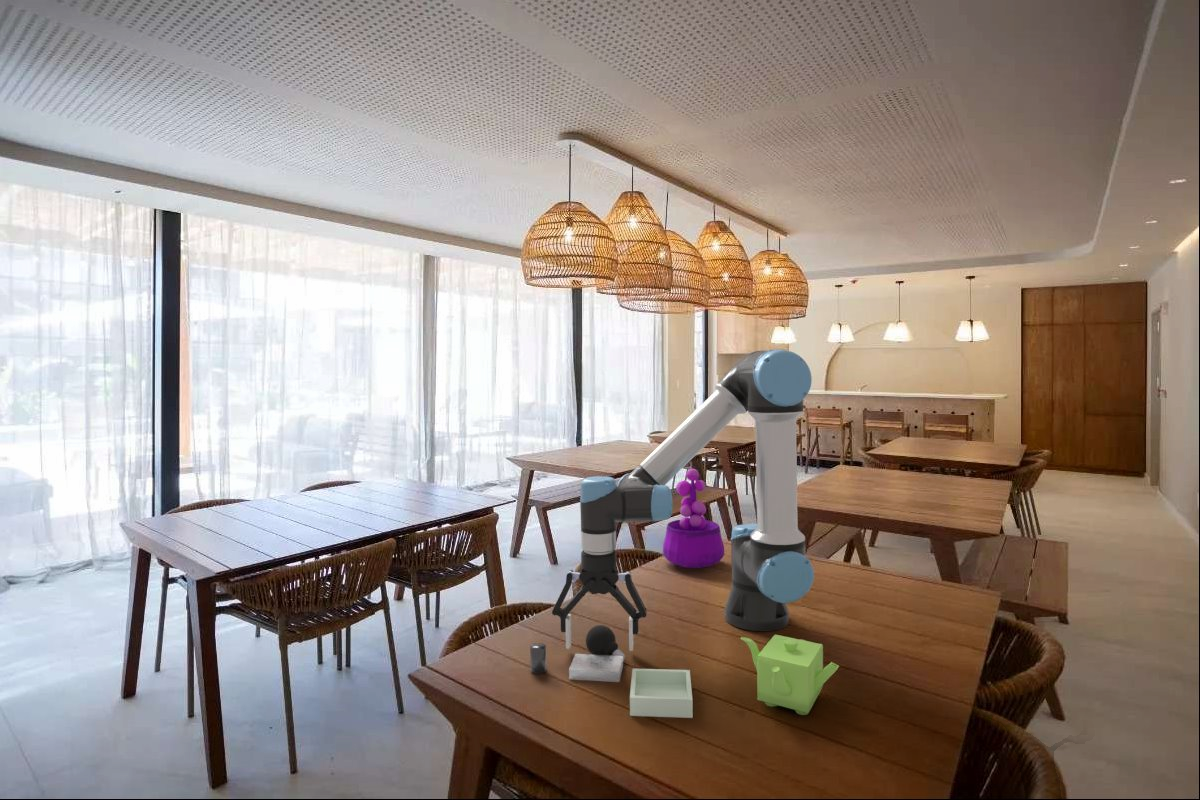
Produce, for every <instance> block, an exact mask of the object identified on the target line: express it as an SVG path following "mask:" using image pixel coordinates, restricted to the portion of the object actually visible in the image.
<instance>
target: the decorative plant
mask: <svg viewBox="0 0 1200 800" xmlns="http://www.w3.org/2000/svg"><path fill="white" fill-rule="evenodd" d="M685 476H686V478H687V479H688V480H689V481H691V483H690V482H689V481H688V480H686V479H685V480H681V481H679V482H678V483H676V485H675V487H676V488H675V491H676V492H677V494H678V495H680V497H683V498H682V499H681V507H680V510H679V512H680V513H679V514H680V515H682V516H683V517H681V518H680V519H677V520H676V519H675V520H672V521H669V522H668V524H667V525H666V532H665V537H664V540H663V545H662V554H663V556H664V557H665V559H666V560H667V561H668V562H670V564H673V565H677V566H680V567H683V568H688V569H703V568H706V567H711V566H714V565H716V564H717V563H719V562H720V561H721V560H722V559H723V558H724V556H725V546H724V542H723V538H722V534H721V533H722V532H721V527H720V525H719V523H717V522H715V521H711V520H708V519H706V518H705V517H704V516H703V515H705V514H706V513H707V512H706V511H707V507H706V505H705V504H704V502H702V501H700V500H697V492H703V491H704V490H705V489H706V487H707V485H706V482H705V481H704V480H701V479H699V478H700V474H699V470H697V469H695V468H689V469H688V470H687V471H686V474H685ZM688 495H689V496H688Z"/></svg>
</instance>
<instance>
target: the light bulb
mask: <svg viewBox="0 0 1200 800" xmlns="http://www.w3.org/2000/svg"><path fill="white" fill-rule="evenodd" d="M585 645H586V648H587V650H588V652H589V654H592V655H613V656H623V662H624V661H625V658H626V655H625V654H624V653H623V651H621V650H620V649H619V644H618V643H617V641H616V635H615V633H614V631H613V630H612V629H611V628H610V627H608V626H607V625H603V624H602V625H601V624H599V625H595V626H593V627H591V628H590V629H589V630H588V632H587V634H586V637H585Z"/></svg>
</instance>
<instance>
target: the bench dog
mask: <svg viewBox="0 0 1200 800" xmlns="http://www.w3.org/2000/svg"><path fill="white" fill-rule="evenodd" d="M529 656H530V657H529V659H530V661H529V663H530V672H531V673H532V674H534V675H540V674H545V672H546V671H547V646H546V644H545V643H543V642H535V643H532V644H530V646H529Z"/></svg>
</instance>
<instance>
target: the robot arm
mask: <svg viewBox="0 0 1200 800" xmlns="http://www.w3.org/2000/svg"><path fill="white" fill-rule="evenodd" d="M812 378H813V376H812V373H811V369H810V366H809V365H808V364H807V362H806V360H804V358H802V356H800V355H799V354H797V353H795V352H794V351H791V350H786V349H779V348H776V349H768V350H756V351H752V352H750V353H748V354H746V355H745V356H744V357H742V358H741V359H740V360H738V361H737V362H736V363H735V364H734V365H733V366H732V368H731V369H730V370H729V371H728V372H727V373H726V374H725V375H724V376H723V377H722V378H721V379H720V380H719V381H718V382H717V383H716V384H715V388H714V391H713V393H711V395H710V396H708V398H706V399H705V401H703V403H701V404H700V405H699V407H697V408H696V409H695V410H694V412H692V413H691V414H690V415H689V416H688V417H687V418H686V419H685V420H684V421H683V422H682V423H680V425H679V426H678V427H677V428H675V430H674V431H673V432H671V433H670V435H669V436H667V438H666V439H664V440H663V442H661V443H660V444H659V445H658V447H656V448H655V449H654V450H653V451H652V452H651V453H650V454H649V455H648V456H647V457H646V458H645V459H644V460H643V461H642V462H641V463H639V465H637V467H636V468H634V470H632V472H628V473H626V474H624V475H622V477H620V479H619V480H618V482H617V483H616V480H615V478H614V477H611V476H606V475H605V476H603V475H602V476H601V475H597V476H596V475H595V476H589V477H586V478H583V480H581V482H580V499H579V500H580V501H579V503H580V504H579V505H580V507H579V508H580V548H581V553H580V564H581V565H580V567H581V569H580V572H576V571H574V570H573V569H569V570H568V571H567V573H566V578H565V584H564V585H563V588H562V590H561V592H560V594H559V595H558V598H557V600H556V602H555V604H554V606H553V608H552V611H551V614H552V615H553V616H558V617H559V618H560V631H561V633H565V649H566V650H570V648H571V645H572V615H571V612H572V611H573V609H574V608H575V607H576V606H577V604H578V603H579V602H580V601H581V600H582V599H583V597H585V595H586V594H587V593H588V592H589V593H590V594H591V595H597V594H600V595H607V594H610V595H611V596H612V598H614V599H615V600H616V601H617V602H618V604H619V605H620V606H621V607H622V608H623V609H624V611H625V612H626V613H627V614H628V615H629V618H628V647H629V648H628V649H629V650H628V651H629V652H633V651H634V635H638V633H639V621H640V620H639V619H641V618H643V619H644V618H646V617H647V611H648V610H647V607H646V606H645V604H644V602H643V600H642V598H641V596H640V594H639V592H638V590H637V588H636V585H635V584H634V582H633V579H632V578H633V577H632V572H631V571H630V570H627V571H625V572H620V573H619V571H618V569H617V551H616V549H617V523H624V522H625V523H626V522H627V523H628V522H658V521H666V520H669V519H670V518H671V516H672V513H673V505H674V504H673V503H674V502H673V494H672V490H671V488H670V486H668V485H666V484H668V483H669V482H670V480H672V479H673V478H674V477H675V476H676V475H677V474H678V473H679V472H680V471H681V470H682V469H683V468H684V467H685V466H686V465H687V464H688V463H689V462H691V460H692V459H694V458H695V456H697V454H699V453H700V452H701V451H702V450H703V449H704V448H705V447H706V446H707V445H708V444H710V442H711V441H712V440H714V438H715V437H716V436H717V435H718V434H719V433H721V431H722V430H724V428H726V426H727V425H728V424H730V422H732V421H733V420H734V419H735V418H736V417H737V416H738V415H741V414H743V415H744V414H746V413H748V414H749V416H751V417H752V418H753V419H754V421H755V422H754V423H755V469H756V470H755V471H756V473H755V475H756V476H755V479H756V520H757V521H756V523H745V524H737V525H735V526H733V527H732V529H731V537H730V541H731V544H730V545H731V550H730V551H731V587H730V590H729V593H728V595H727V596H728V597H727V599H726V603H725V605H724V620H726V621H727V623H729V624H730V625H732V626H733V627H737V628H739V629H742V630H747V631H753V632H754V631H755V632H771V631H773V632H774V631H777V630H782V629H784V628H785V627H787V626H788V625H789V623H790V612H789V609H788V605H787V604H791V603H794V602H796V601H799V600H800V599H802V598H803V597H804V596H805V595H806V594H807V593H808V592H809V591H810V589H811V588H812V586H813V583H814V579H815V571H814V567H813V565H812V563H811V561H810V559H809V558H808V557H807V556H806V536H805V535H804V534H803V533H802V532H801V530H799V528H798V527H799V526H798V525H799V524H798V468H797V467H798V465H797V464H798V461H797V459H798V456H797V455H798V453H797V420H798V418H799V417H800V416H802V414H804V399H805V398H806V397H807V395H809V392H810V390H811V387H812V383H813V382H812V381H813V379H812ZM578 579H579V580H580V582H581V584H582V586H580V589H579V590H578V591H577V592H576V593H575V594H574V595H573V597H572V598H571V599H570V600H569V601H568V603H567V604H566V605H565V606H564V608H561V607H562V605H563V603H564V601H565V599H566V596H567V595H568V593H569V590H571V589H570V588H571V587H572V584H573V583H576V581H577V580H578ZM619 580H620V581H621V583H622V584H624V585H625V586H626V589H627V591H628V593H629V596H630V598H631V599H632V601H633V603H634V605H635V607H636V608H635V607H634V605H633V604H632V603H631V601H629V599H628V598H627V597H626V596H625V594H624V593H623V592H622V591H621V590H620V589H619V586H617V585H616V584H617V583H618V581H619Z"/></svg>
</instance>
